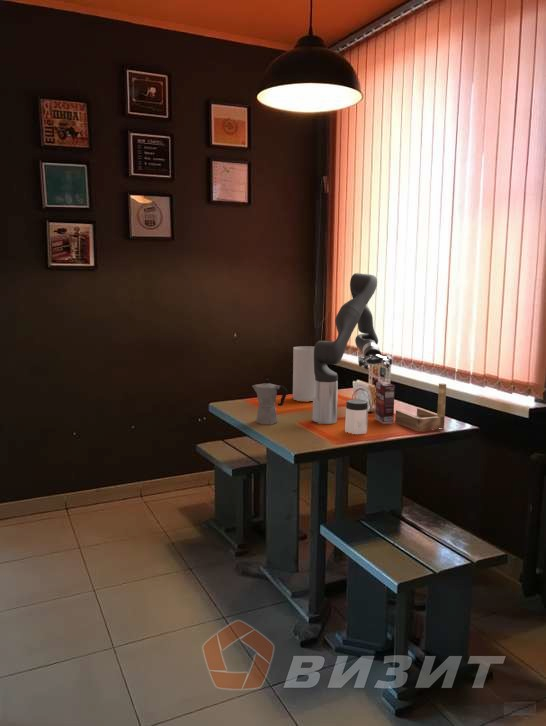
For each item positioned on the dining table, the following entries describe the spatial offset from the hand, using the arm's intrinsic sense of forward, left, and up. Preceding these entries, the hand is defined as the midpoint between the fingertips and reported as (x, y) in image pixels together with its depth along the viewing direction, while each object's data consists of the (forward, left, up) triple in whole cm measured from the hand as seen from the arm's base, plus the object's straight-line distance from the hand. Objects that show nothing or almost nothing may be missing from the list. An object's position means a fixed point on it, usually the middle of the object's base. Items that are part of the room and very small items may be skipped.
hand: (377, 366), depth 255 cm
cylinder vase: (-15, +38, -21) cm, 46 cm away
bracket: (+8, -21, -21) cm, 30 cm away
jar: (-21, -20, -21) cm, 36 cm away
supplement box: (-2, -10, -21) cm, 23 cm away
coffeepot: (-47, +5, -21) cm, 52 cm away
